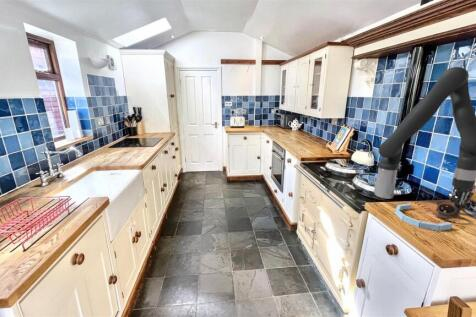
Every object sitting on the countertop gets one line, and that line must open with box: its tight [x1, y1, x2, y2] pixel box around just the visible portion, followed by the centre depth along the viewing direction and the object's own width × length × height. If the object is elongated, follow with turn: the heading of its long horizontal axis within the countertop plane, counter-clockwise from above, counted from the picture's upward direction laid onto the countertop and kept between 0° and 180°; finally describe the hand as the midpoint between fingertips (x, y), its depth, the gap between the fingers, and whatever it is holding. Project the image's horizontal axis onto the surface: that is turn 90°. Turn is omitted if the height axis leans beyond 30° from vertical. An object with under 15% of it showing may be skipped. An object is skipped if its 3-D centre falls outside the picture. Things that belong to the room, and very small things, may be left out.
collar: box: [394, 203, 453, 231], centre depth 107 cm, size 14×21×2 cm
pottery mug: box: [434, 200, 462, 220], centre depth 109 cm, size 12×10×8 cm
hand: (456, 210), depth 111 cm, fingers closed
